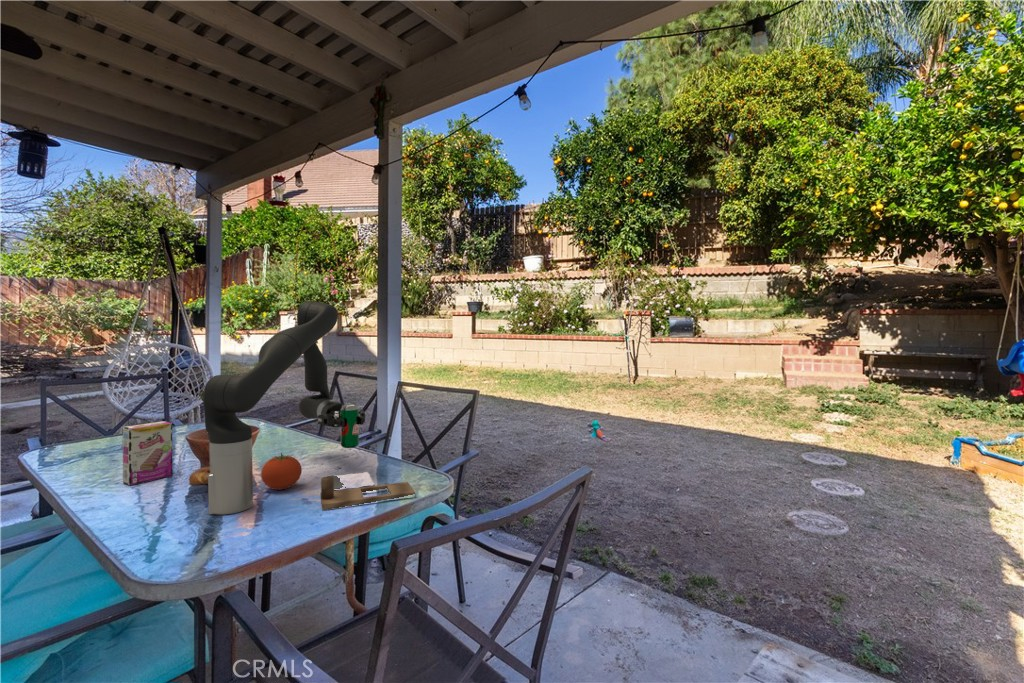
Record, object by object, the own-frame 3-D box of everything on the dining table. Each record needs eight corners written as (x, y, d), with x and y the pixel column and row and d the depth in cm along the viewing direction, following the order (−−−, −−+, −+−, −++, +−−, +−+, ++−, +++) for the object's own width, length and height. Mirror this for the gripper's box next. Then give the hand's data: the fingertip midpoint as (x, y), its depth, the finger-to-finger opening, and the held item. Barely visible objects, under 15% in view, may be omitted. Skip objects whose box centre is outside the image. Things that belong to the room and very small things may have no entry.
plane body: (322, 510, 121) (322, 484, 121) (320, 498, 130) (320, 473, 129) (415, 497, 130) (415, 473, 130) (407, 486, 139) (407, 464, 139)
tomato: (255, 488, 137) (255, 453, 137) (293, 480, 144) (292, 446, 144) (269, 497, 130) (268, 460, 129) (307, 488, 137) (307, 453, 137)
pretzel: (197, 489, 137) (197, 476, 137) (182, 482, 143) (181, 469, 143) (242, 478, 146) (242, 466, 146) (225, 471, 153) (225, 460, 153)
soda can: (356, 448, 141) (356, 407, 140) (338, 448, 140) (338, 407, 140) (360, 443, 146) (360, 403, 145) (343, 444, 146) (343, 403, 145)
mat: (329, 491, 135) (329, 489, 135) (326, 477, 147) (326, 476, 147) (374, 485, 140) (374, 483, 140) (368, 472, 152) (368, 471, 152)
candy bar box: (130, 486, 138) (128, 428, 138) (122, 483, 141) (120, 426, 140) (174, 476, 148) (173, 422, 147) (165, 473, 150) (164, 420, 150)
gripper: (308, 403, 149) (327, 412, 136) (355, 398, 158) (376, 406, 145) (309, 428, 150) (327, 439, 136) (355, 421, 159) (376, 431, 145)
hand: (352, 422), depth 141 cm, fingers closed on soda can, 5 cm apart
